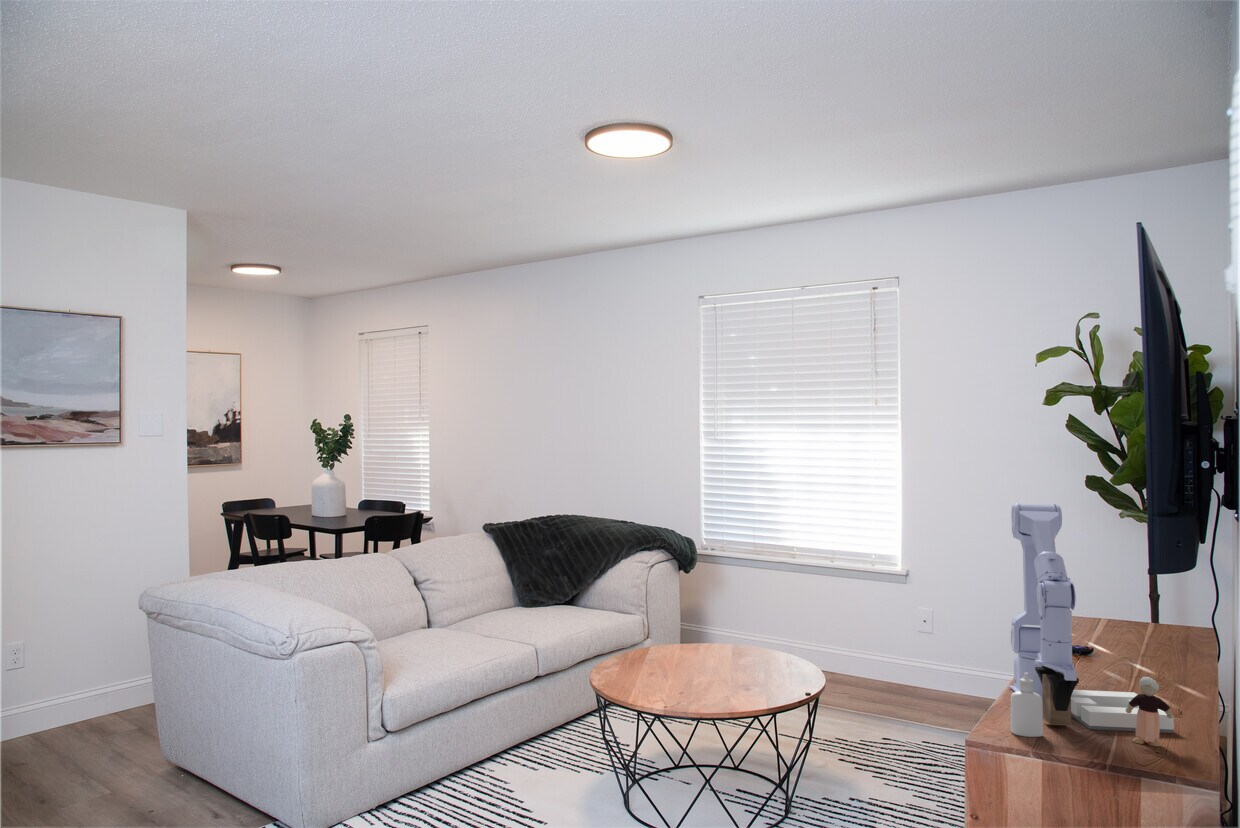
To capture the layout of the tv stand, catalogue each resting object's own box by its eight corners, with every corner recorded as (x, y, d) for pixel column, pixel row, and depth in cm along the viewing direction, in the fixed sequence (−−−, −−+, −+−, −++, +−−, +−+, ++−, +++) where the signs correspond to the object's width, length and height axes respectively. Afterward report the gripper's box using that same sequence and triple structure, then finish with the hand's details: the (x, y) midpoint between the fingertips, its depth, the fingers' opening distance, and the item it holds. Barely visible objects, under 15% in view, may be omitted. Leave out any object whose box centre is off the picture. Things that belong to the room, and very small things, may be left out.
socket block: (1057, 705, 186) (1057, 689, 186) (1133, 708, 184) (1133, 692, 185) (1089, 729, 170) (1089, 711, 170) (1173, 733, 169) (1173, 715, 169)
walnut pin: (1042, 717, 174) (1042, 673, 175) (1062, 718, 174) (1062, 674, 174) (1050, 724, 170) (1050, 679, 171) (1071, 725, 170) (1070, 680, 170)
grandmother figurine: (1128, 743, 162) (1128, 677, 163) (1124, 737, 166) (1124, 672, 166) (1175, 749, 159) (1174, 681, 160) (1170, 742, 163) (1169, 676, 163)
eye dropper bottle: (1014, 728, 170) (1014, 668, 171) (1044, 734, 167) (1044, 673, 167) (1008, 733, 167) (1008, 672, 167) (1039, 740, 163) (1039, 677, 164)
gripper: (1022, 631, 180) (1022, 695, 180) (1049, 647, 166) (1050, 717, 165) (1057, 632, 179) (1057, 696, 179) (1087, 648, 165) (1088, 718, 165)
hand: (1056, 706), depth 172 cm, fingers closed on walnut pin, 4 cm apart
